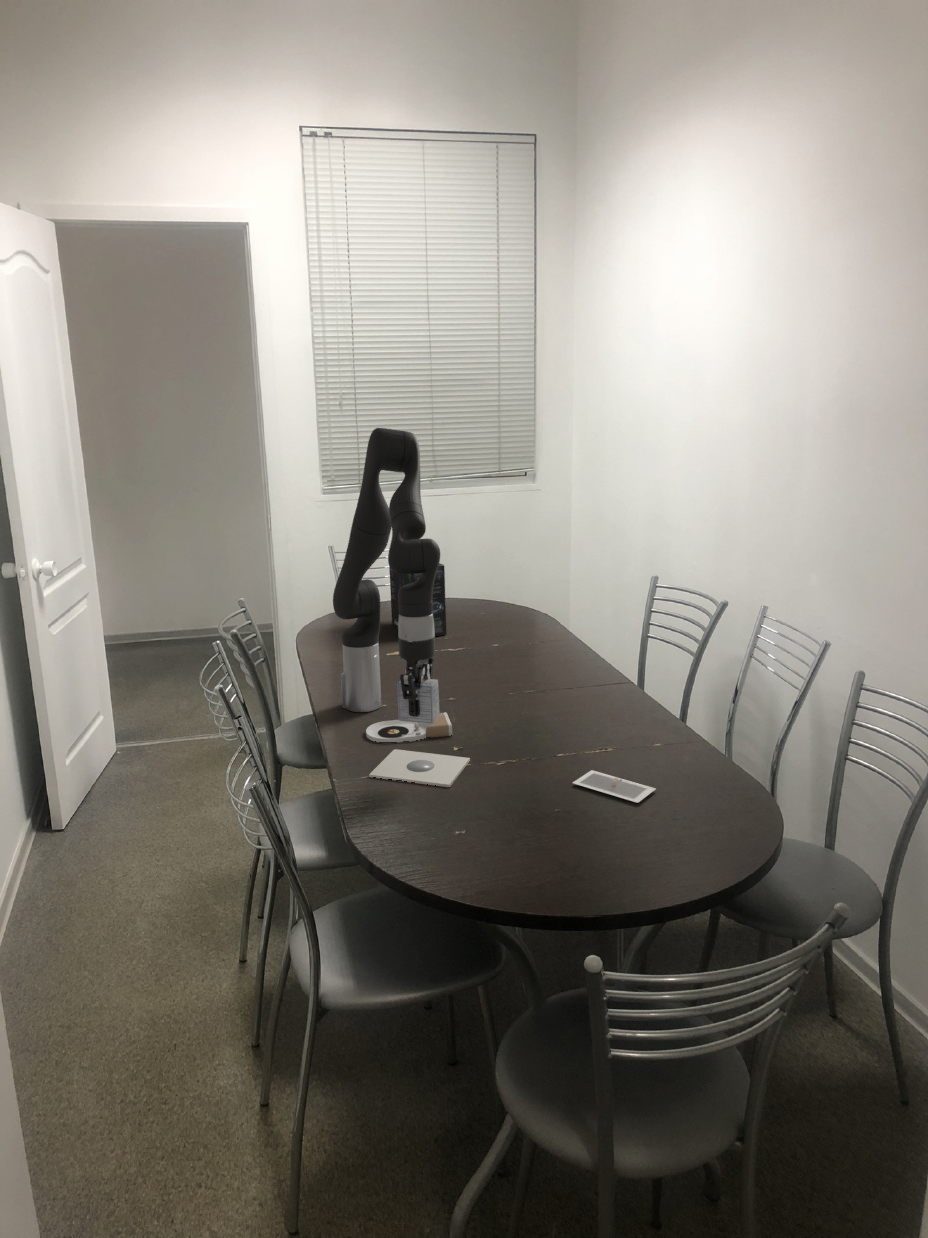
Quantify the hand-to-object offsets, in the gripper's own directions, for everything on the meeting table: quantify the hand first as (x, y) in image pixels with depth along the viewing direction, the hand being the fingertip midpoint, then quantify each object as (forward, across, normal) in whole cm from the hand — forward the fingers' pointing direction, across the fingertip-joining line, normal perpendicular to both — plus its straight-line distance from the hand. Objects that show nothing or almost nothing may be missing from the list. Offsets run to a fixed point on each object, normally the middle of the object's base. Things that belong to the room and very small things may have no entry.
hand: (418, 711), depth 186 cm
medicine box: (+2, 0, 0) cm, 2 cm away
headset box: (+14, -106, -41) cm, 114 cm away
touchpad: (+14, -2, +42) cm, 44 cm away
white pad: (+13, 0, 0) cm, 13 cm away
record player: (+14, -19, -10) cm, 25 cm away
